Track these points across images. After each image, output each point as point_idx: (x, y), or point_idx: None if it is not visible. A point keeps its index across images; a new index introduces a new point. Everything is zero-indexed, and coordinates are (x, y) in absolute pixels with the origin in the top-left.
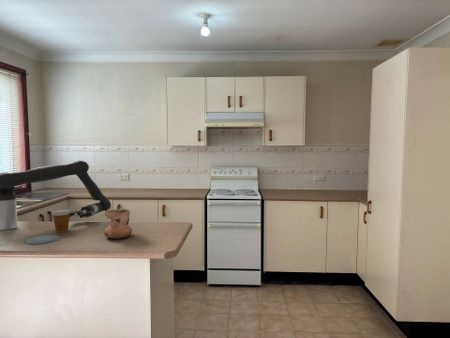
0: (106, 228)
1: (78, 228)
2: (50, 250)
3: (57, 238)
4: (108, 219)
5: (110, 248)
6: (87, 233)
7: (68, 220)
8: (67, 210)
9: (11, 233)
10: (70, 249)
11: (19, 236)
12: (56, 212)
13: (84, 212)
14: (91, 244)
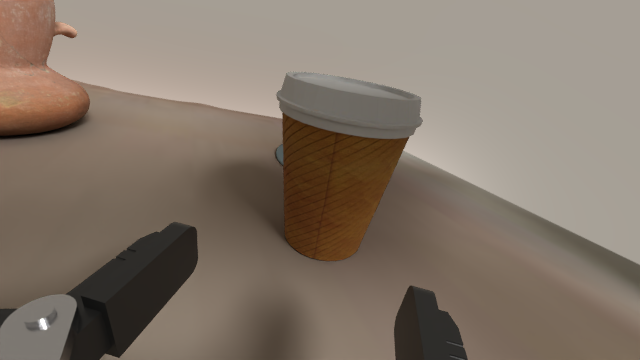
0: (69, 83)
1: (212, 269)
2: (264, 117)
3: (282, 153)
4: (66, 24)
5: (110, 96)
6: (151, 175)
7: (283, 162)
8: (293, 73)
9: (565, 240)
10: (216, 111)
11: (464, 200)
12: (352, 83)
13: (45, 353)
14: (156, 114)
